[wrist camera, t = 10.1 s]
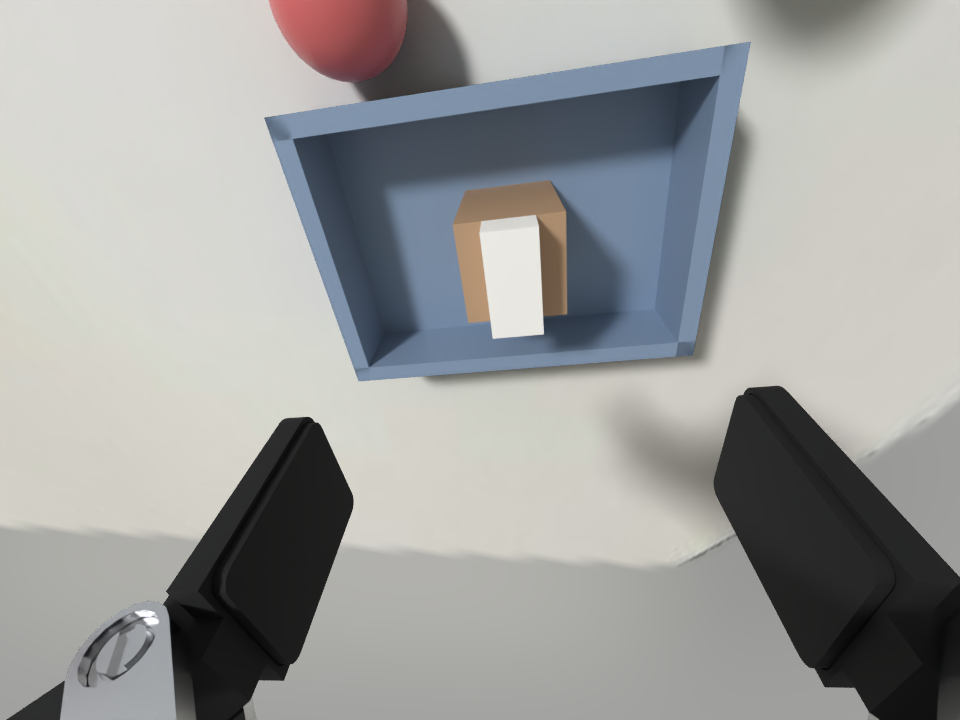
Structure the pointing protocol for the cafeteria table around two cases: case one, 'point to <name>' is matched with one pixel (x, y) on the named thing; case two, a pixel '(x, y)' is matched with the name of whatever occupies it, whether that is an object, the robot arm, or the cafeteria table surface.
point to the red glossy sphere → (343, 34)
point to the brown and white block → (512, 256)
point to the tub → (514, 160)
